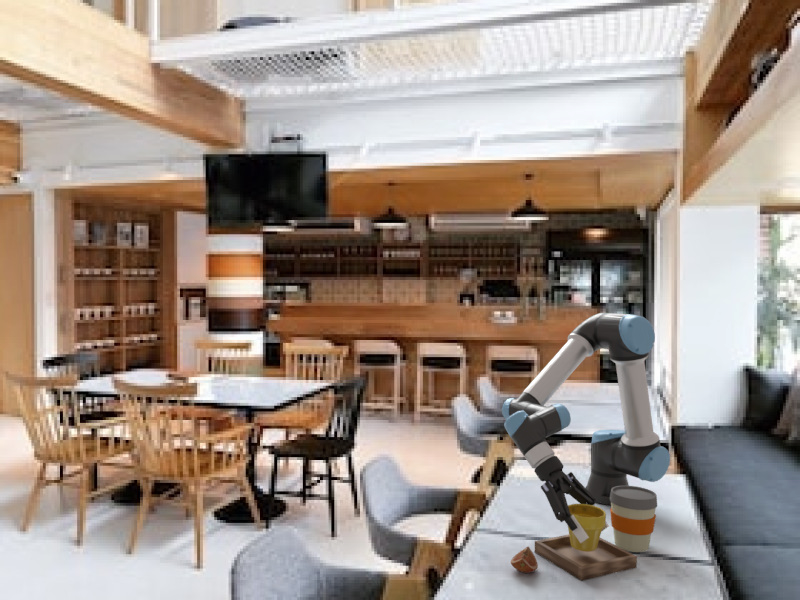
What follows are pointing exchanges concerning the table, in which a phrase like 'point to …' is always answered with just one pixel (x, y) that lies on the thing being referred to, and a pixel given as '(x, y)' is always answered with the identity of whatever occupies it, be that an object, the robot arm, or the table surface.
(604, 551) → the walnut tray
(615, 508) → the reusable coffee cup
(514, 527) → the table surface
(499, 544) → the table surface
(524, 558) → the fruit slice
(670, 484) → the table surface
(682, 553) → the table surface
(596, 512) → the plant pot
